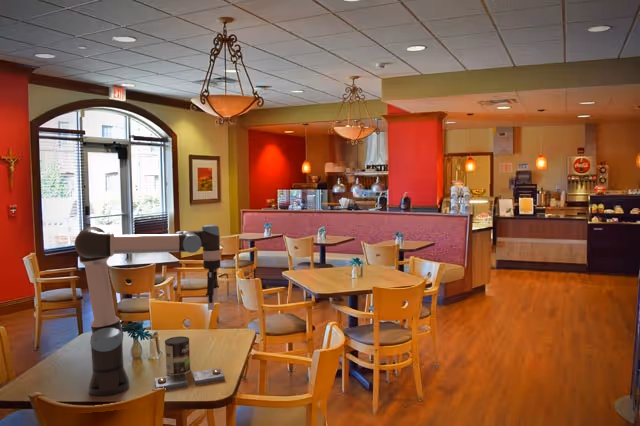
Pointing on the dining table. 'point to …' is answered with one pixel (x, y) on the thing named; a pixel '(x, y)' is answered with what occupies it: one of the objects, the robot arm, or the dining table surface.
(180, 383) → the left end plate
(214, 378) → the right end plate
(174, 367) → the coffee can
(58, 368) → the dining table surface
